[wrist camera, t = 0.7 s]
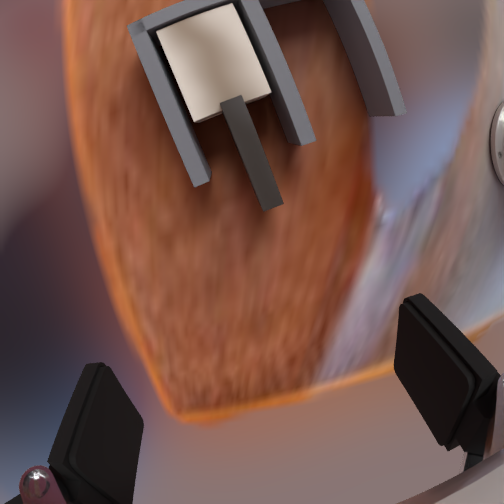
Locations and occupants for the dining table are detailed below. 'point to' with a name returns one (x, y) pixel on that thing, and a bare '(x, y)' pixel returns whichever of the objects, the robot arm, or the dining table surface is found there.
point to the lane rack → (268, 69)
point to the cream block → (223, 84)
